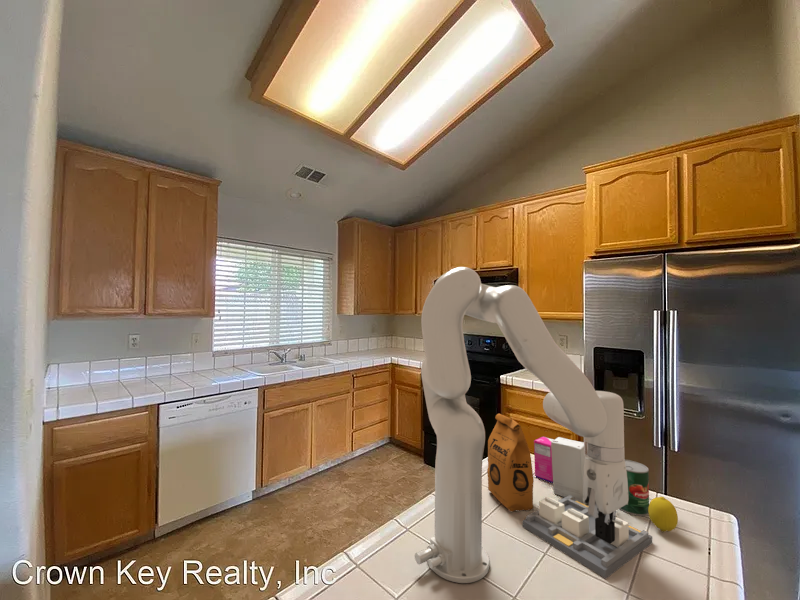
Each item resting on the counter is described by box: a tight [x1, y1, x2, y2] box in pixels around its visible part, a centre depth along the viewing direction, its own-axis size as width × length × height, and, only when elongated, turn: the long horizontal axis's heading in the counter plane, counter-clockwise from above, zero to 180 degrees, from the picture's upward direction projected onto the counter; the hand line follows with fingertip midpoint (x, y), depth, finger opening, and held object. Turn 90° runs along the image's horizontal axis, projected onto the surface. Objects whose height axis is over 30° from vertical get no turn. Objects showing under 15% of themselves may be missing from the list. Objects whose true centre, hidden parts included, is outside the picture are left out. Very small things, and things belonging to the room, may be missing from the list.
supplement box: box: [533, 436, 555, 484], centre depth 108 cm, size 6×6×12 cm
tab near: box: [610, 516, 630, 547], centre depth 75 cm, size 4×4×5 cm
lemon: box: [648, 496, 679, 533], centre depth 81 cm, size 6×6×8 cm
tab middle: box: [562, 508, 589, 538], centre depth 77 cm, size 4×4×5 cm
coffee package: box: [486, 413, 534, 513], centre depth 94 cm, size 10×12×22 cm
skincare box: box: [551, 436, 585, 504], centre depth 97 cm, size 8×6×15 cm
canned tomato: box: [618, 459, 650, 517], centre depth 92 cm, size 8×8×11 cm
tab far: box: [538, 496, 565, 524], centre depth 82 cm, size 4×4×5 cm
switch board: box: [522, 495, 653, 580], centre depth 80 cm, size 20×19×2 cm
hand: (605, 538), depth 73 cm, fingers closed
